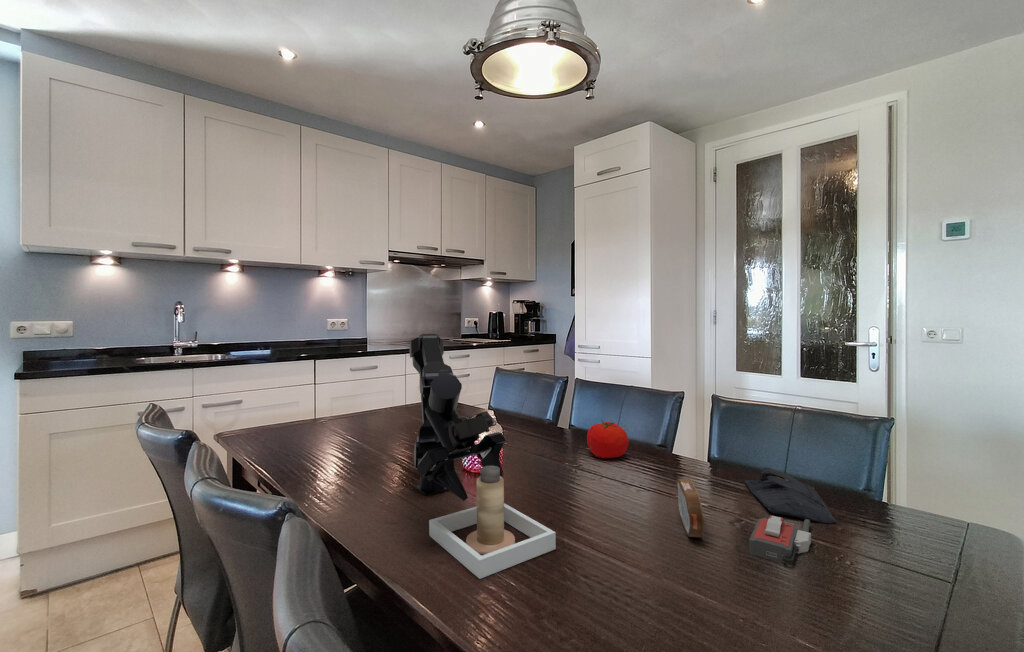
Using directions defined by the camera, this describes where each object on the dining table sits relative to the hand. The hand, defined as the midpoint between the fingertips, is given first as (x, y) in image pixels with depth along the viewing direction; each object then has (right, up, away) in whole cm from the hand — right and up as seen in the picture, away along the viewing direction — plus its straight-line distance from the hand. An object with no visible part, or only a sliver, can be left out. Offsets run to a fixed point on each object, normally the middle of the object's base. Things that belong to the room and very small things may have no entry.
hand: (484, 492), depth 87 cm
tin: (+40, -9, +5) cm, 41 cm away
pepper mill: (+1, -8, -1) cm, 8 cm away
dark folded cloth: (+67, -9, +18) cm, 70 cm away
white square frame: (+1, -9, -1) cm, 9 cm away
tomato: (+33, -8, +50) cm, 61 cm away
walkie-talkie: (+55, -9, -1) cm, 56 cm away
